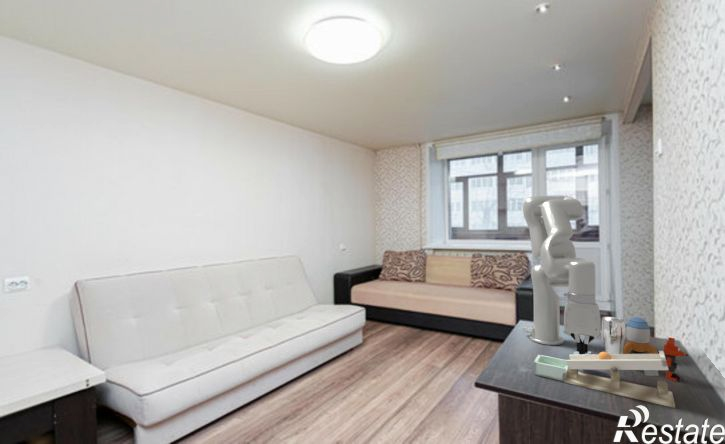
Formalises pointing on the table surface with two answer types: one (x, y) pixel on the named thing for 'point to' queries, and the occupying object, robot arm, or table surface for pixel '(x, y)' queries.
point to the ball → (604, 356)
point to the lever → (620, 362)
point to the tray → (551, 367)
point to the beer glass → (613, 334)
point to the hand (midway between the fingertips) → (582, 354)
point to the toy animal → (672, 358)
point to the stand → (622, 387)
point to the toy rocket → (638, 337)
